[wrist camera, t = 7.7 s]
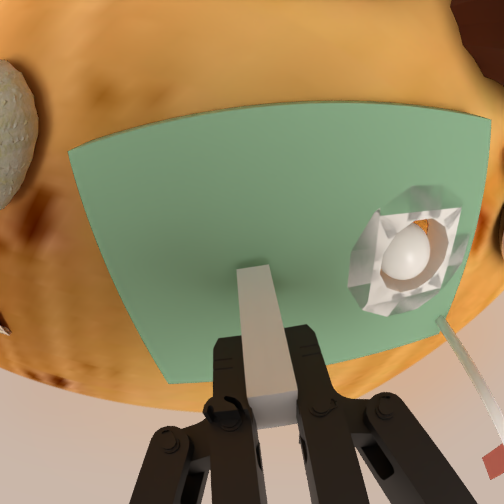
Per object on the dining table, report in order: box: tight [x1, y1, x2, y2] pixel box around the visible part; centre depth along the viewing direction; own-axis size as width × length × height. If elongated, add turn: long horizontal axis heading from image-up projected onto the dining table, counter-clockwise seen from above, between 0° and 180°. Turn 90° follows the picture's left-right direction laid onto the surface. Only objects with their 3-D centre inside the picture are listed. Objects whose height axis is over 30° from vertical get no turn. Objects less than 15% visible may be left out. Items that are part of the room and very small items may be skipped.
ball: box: [381, 222, 430, 280], centre depth 15 cm, size 4×4×4 cm
